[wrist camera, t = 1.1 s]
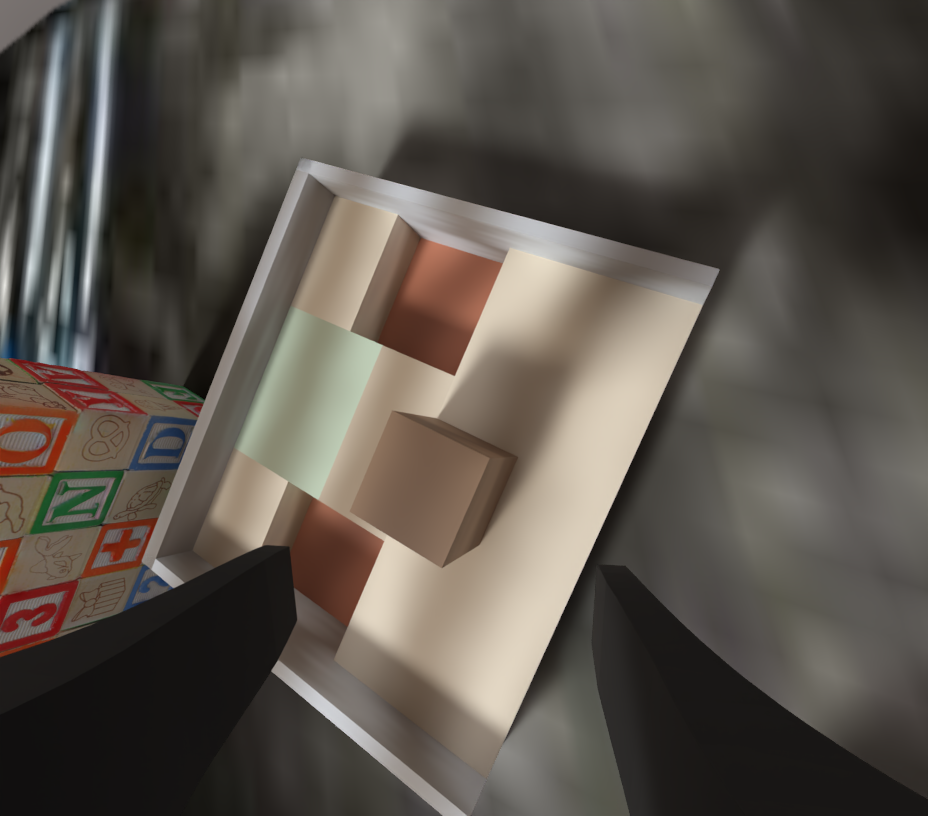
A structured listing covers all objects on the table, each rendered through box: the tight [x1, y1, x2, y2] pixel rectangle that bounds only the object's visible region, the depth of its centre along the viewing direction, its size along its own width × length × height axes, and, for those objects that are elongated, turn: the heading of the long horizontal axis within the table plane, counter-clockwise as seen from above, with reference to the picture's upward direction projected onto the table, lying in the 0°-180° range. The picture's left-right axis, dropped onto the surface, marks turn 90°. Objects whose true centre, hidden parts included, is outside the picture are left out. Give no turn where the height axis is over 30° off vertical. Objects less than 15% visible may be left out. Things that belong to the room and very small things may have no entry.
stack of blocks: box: [0, 358, 205, 657], centre depth 24 cm, size 21×6×12 cm, turn 154°
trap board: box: [142, 158, 720, 816], centre depth 21 cm, size 19×21×5 cm
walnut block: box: [350, 410, 518, 568], centre depth 17 cm, size 4×4×4 cm
